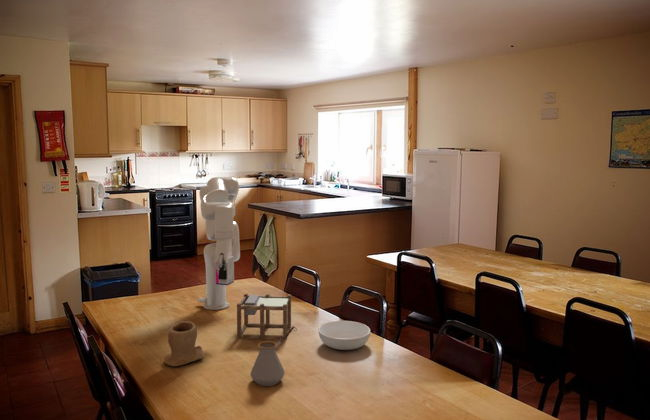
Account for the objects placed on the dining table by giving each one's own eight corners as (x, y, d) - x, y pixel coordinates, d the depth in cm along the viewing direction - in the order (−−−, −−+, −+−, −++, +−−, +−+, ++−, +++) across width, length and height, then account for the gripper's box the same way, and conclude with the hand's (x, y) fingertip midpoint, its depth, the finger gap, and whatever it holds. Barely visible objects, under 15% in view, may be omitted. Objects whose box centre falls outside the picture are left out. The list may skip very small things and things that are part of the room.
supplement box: (234, 282, 224) (234, 255, 222) (227, 285, 219) (227, 258, 217) (222, 280, 226) (222, 254, 224) (215, 284, 220) (214, 257, 219)
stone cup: (173, 372, 187) (172, 331, 185) (159, 361, 196) (158, 322, 194) (212, 361, 196) (211, 322, 194) (197, 352, 205) (196, 314, 203)
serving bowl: (309, 350, 207) (309, 333, 206) (329, 333, 226) (329, 318, 226) (360, 359, 199) (361, 341, 199) (376, 340, 219) (377, 324, 218)
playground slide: (244, 315, 220) (244, 302, 220) (250, 306, 233) (250, 294, 232) (285, 316, 220) (285, 303, 219) (288, 306, 232) (288, 295, 232)
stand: (237, 338, 220) (236, 304, 218) (244, 325, 236) (244, 293, 234) (286, 339, 219) (286, 305, 217) (291, 326, 235) (291, 294, 233)
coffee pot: (270, 391, 172) (269, 347, 171) (243, 383, 179) (242, 340, 177) (307, 369, 190) (308, 328, 188) (282, 362, 196) (282, 322, 195)
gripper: (220, 230, 228) (221, 271, 231) (209, 238, 211) (210, 282, 214) (237, 231, 228) (238, 271, 230) (228, 239, 211) (229, 282, 213)
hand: (224, 276), depth 222 cm, fingers closed on supplement box, 6 cm apart
